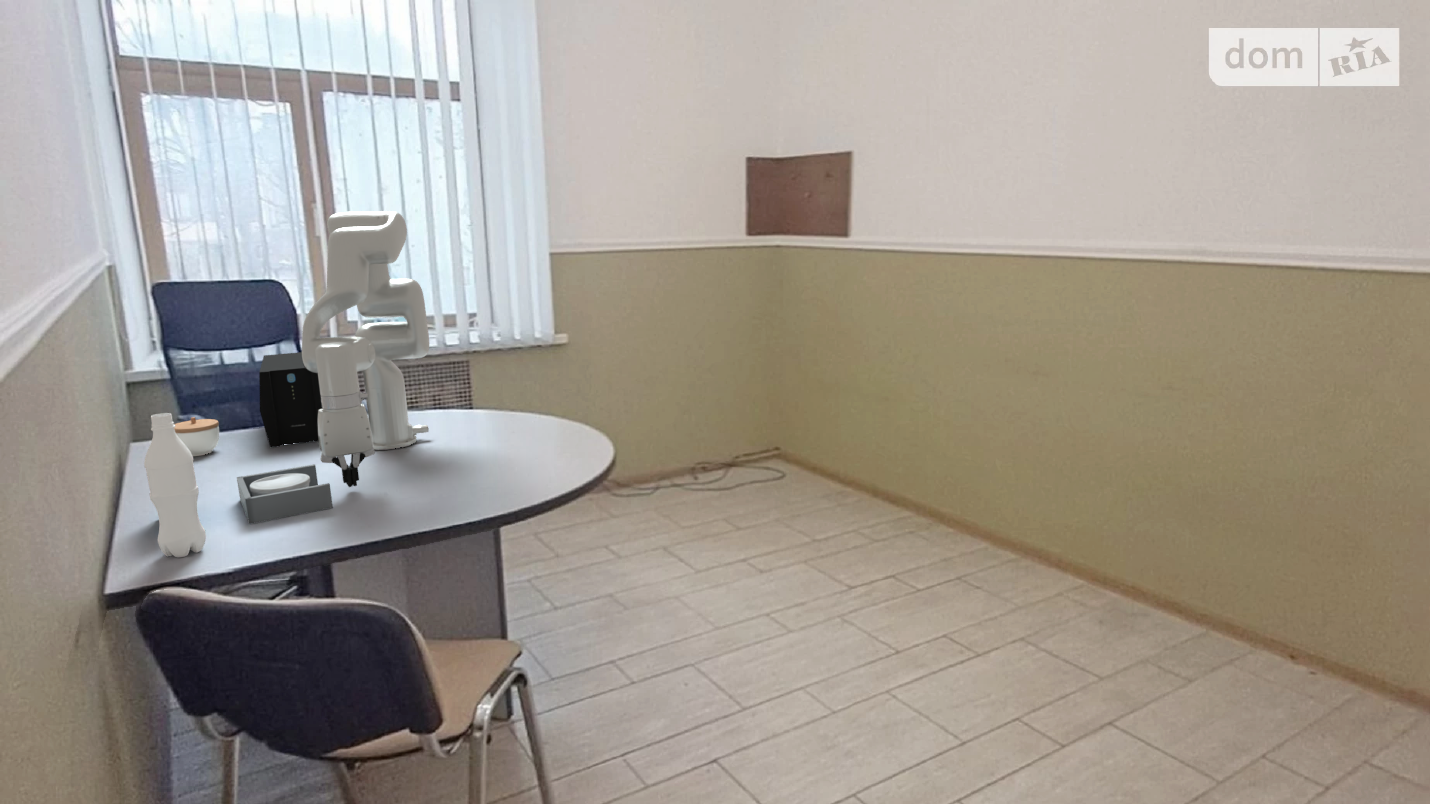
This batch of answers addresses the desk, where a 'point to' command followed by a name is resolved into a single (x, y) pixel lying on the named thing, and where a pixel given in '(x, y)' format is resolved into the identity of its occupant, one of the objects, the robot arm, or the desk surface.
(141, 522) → the desk surface
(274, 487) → the ramekin
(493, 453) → the desk surface
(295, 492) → the box
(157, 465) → the water bottle
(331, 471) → the desk surface
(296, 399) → the uninterruptible power supply
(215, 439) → the lidded jar
